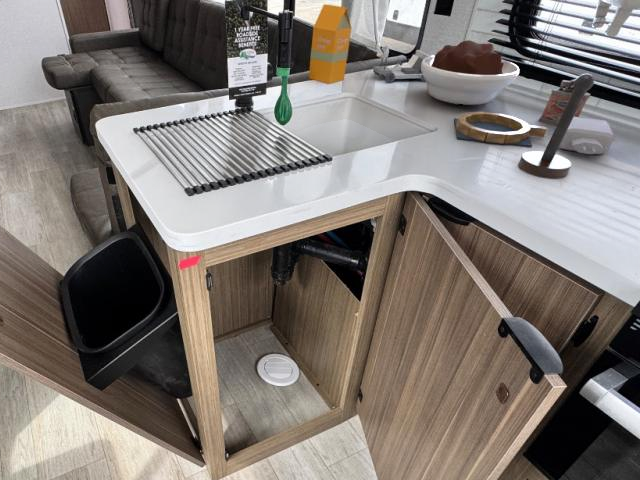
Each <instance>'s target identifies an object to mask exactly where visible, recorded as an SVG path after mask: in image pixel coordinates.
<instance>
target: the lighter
mask: <svg viewBox="0 0 640 480" xmlns="http://www.w3.org/2000/svg"><path fill="white" fill-rule="evenodd" d="M575 80H576V78H575V79H571V80H566V79H562V80H561V83H560V85H559V88H557V87H555V88H552V89H551V92H550V93H551V94H550V96H549V97H548V101H547V103H546V105H545V107H544V109H543V111H542V114H541V115H540V117H539V119H538V122H540V123H545V124H550V125H553V126H554V125H555V126H557V124H558V122H559V120H560V118H561V116H562V113H563V111H564V109H565V107H566V105H567V103H568V101H569V99H570V97H571V94H572V92H573V90H574V87H573V84H574V81H575ZM590 96H591V93H589V92H586V93H585V95H584V97H583V99H582V101H581V103H580V105H579V107H578V109H577V111H576V113H575V115H574V117H580V115H581V112H582V111H583V109H584V107H585V105H586V103H587V101H588V99H590Z"/></svg>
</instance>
